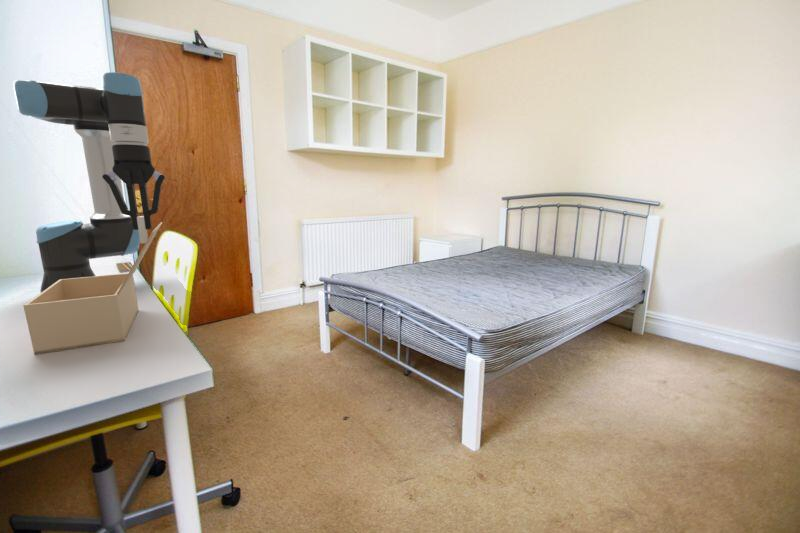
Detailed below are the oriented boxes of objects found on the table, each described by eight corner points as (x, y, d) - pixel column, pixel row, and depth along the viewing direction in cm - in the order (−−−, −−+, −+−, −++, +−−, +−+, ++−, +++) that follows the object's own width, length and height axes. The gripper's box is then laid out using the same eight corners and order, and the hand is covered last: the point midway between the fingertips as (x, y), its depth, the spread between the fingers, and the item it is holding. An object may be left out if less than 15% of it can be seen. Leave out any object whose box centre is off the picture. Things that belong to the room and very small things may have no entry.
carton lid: (161, 221, 110) (162, 222, 110) (132, 272, 109) (134, 272, 109) (152, 231, 89) (153, 232, 89) (116, 294, 88) (118, 294, 88)
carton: (67, 319, 105) (59, 279, 102) (138, 310, 112) (132, 272, 109) (34, 354, 84) (23, 305, 81) (124, 340, 91) (116, 295, 88)
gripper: (93, 142, 87) (110, 246, 92) (160, 144, 93) (173, 242, 98) (100, 145, 94) (116, 242, 99) (163, 146, 100) (175, 238, 105)
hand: (144, 242), depth 99 cm, fingers closed
